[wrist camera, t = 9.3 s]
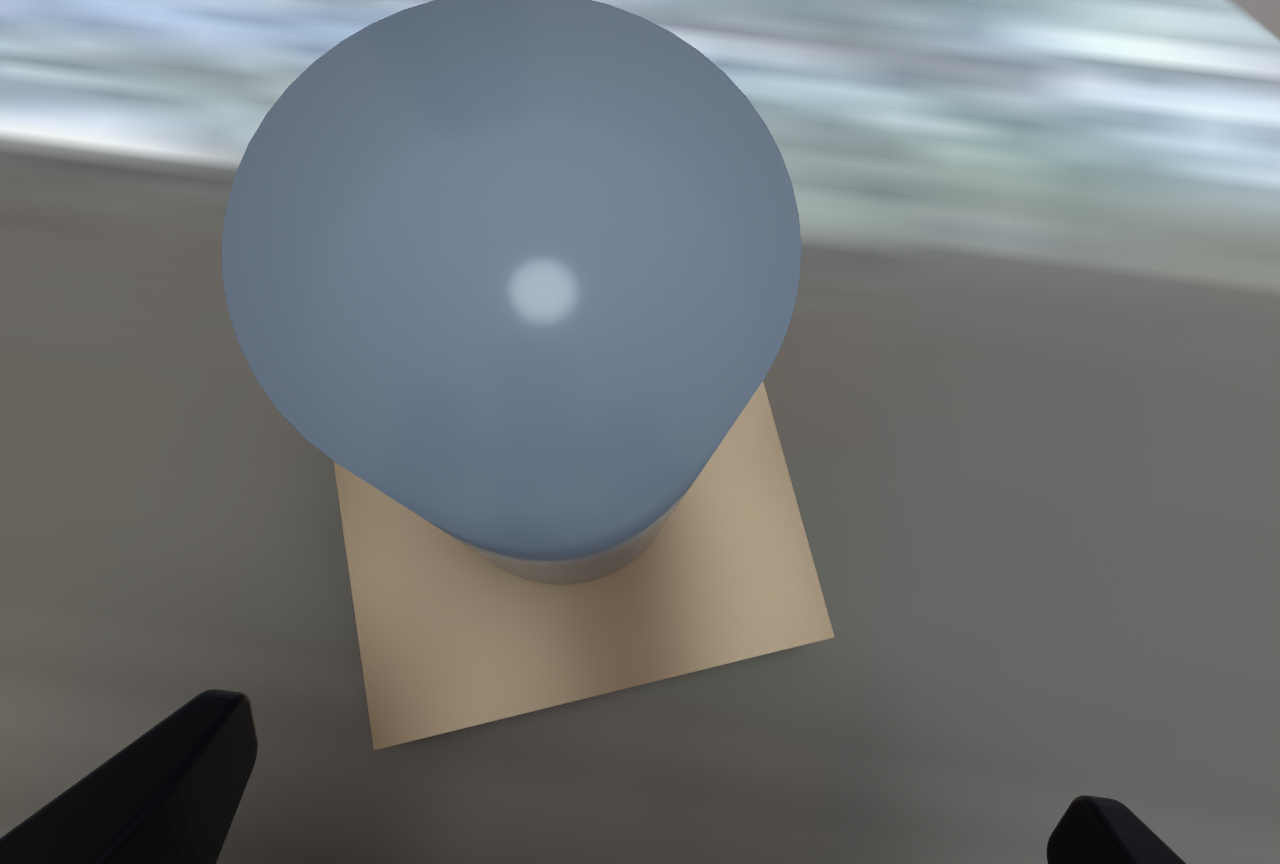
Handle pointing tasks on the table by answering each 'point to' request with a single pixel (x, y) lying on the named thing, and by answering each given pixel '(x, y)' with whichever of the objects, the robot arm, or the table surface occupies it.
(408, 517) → the oak base block
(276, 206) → the canister
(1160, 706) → the table surface
